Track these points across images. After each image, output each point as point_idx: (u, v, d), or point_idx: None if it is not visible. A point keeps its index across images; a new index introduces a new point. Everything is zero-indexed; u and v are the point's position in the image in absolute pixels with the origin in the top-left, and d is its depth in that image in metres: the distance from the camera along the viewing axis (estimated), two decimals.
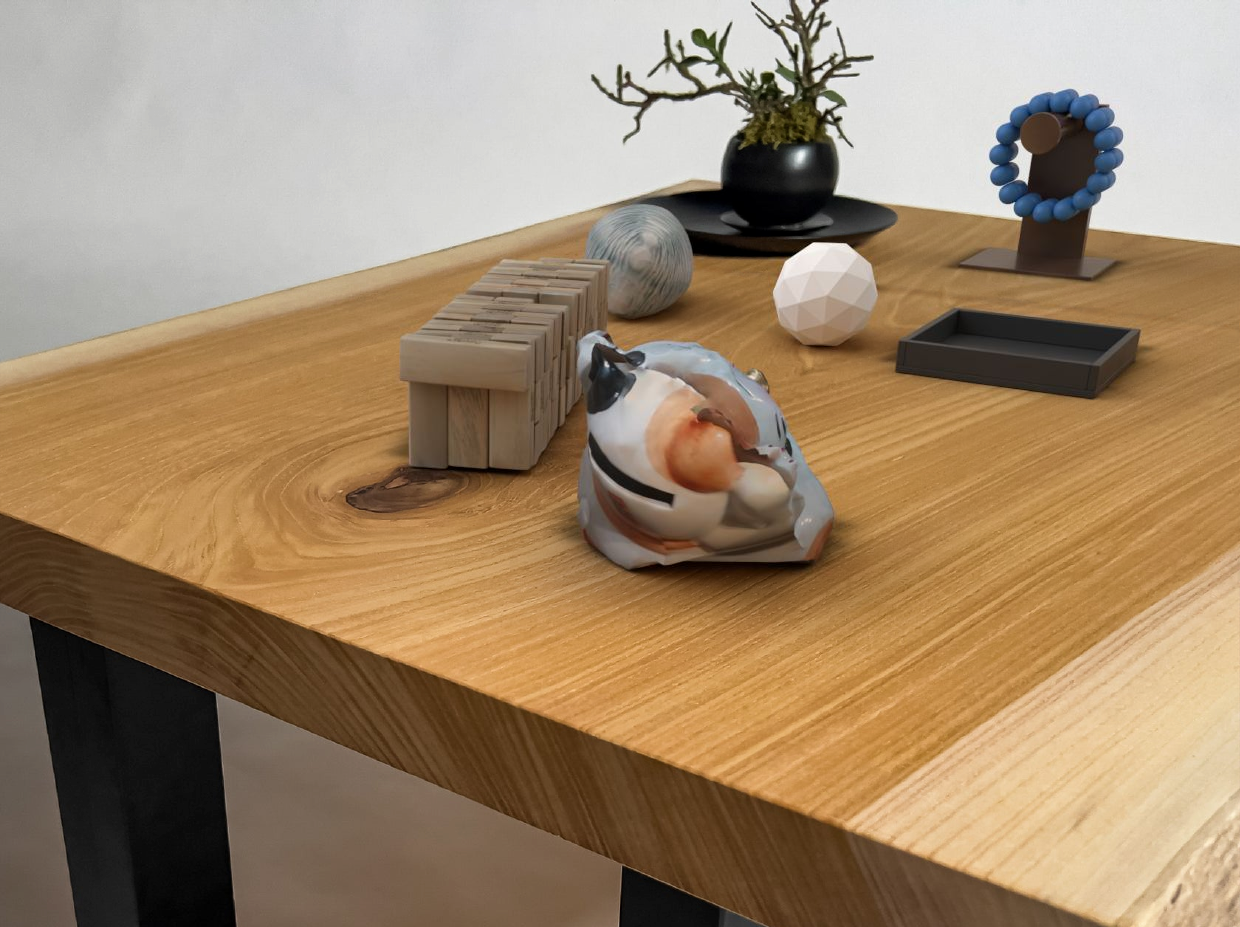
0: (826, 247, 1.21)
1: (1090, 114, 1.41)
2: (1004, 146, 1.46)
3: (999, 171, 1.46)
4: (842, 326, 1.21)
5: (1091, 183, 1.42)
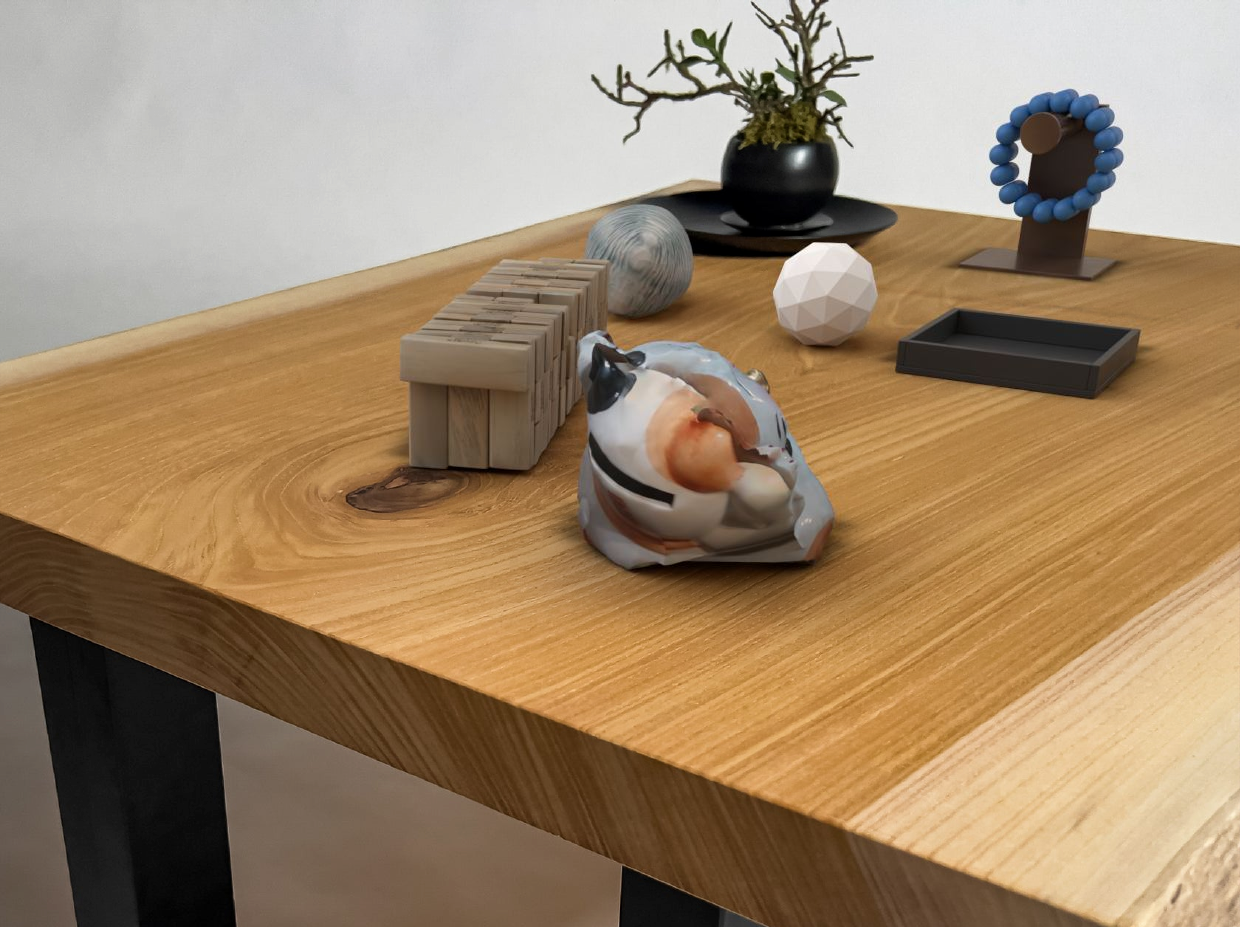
0: (826, 247, 1.21)
1: (1090, 114, 1.41)
2: (1004, 146, 1.46)
3: (999, 171, 1.46)
4: (842, 326, 1.21)
5: (1091, 183, 1.42)
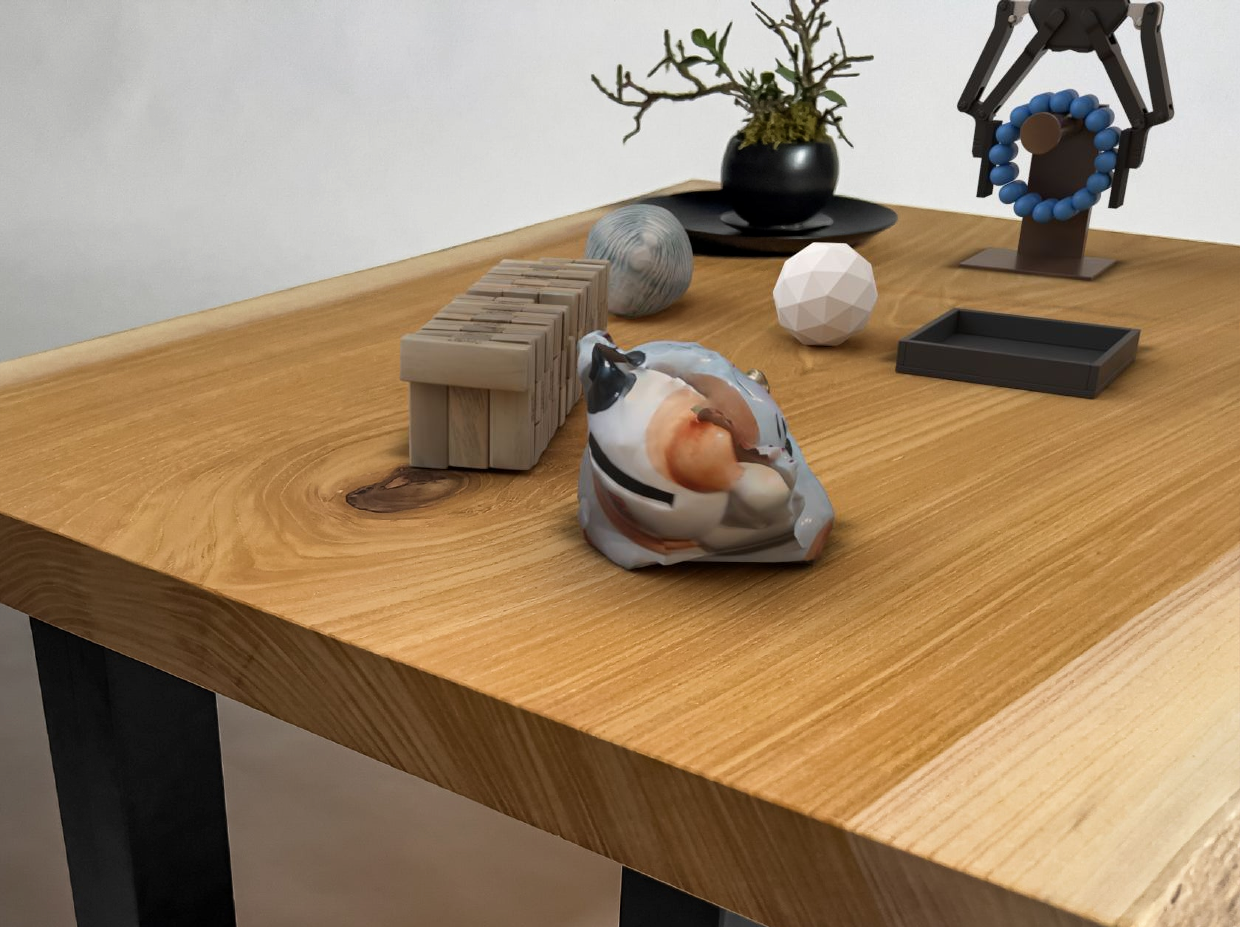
0: (826, 247, 1.21)
1: (1090, 114, 1.41)
2: (1004, 146, 1.46)
3: (999, 171, 1.46)
4: (842, 326, 1.21)
5: (1091, 183, 1.42)
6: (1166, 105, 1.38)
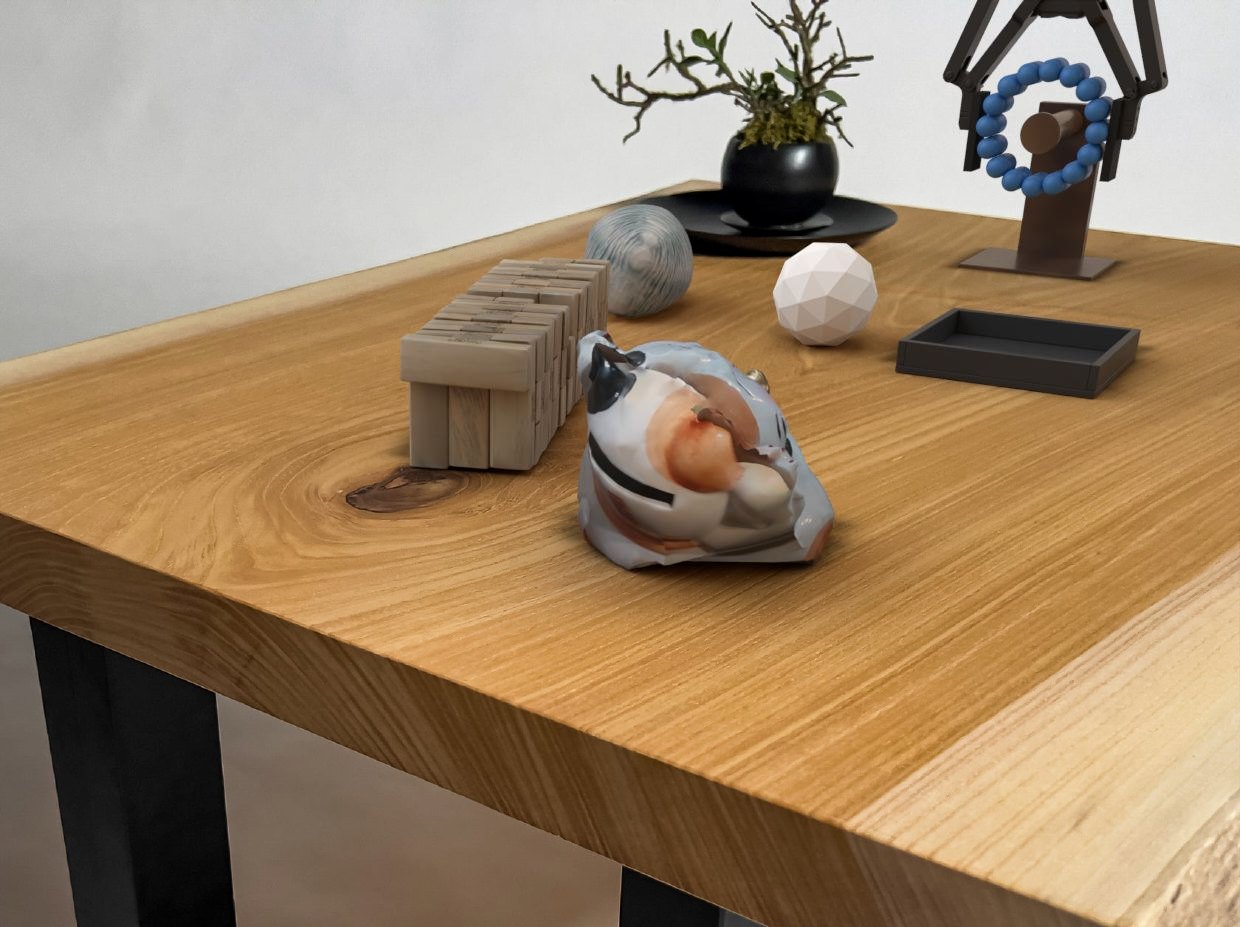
0: (826, 247, 1.21)
1: (1080, 83, 1.35)
2: (991, 117, 1.40)
3: (986, 143, 1.41)
4: (842, 326, 1.21)
5: (1082, 155, 1.37)
6: (1159, 73, 1.32)
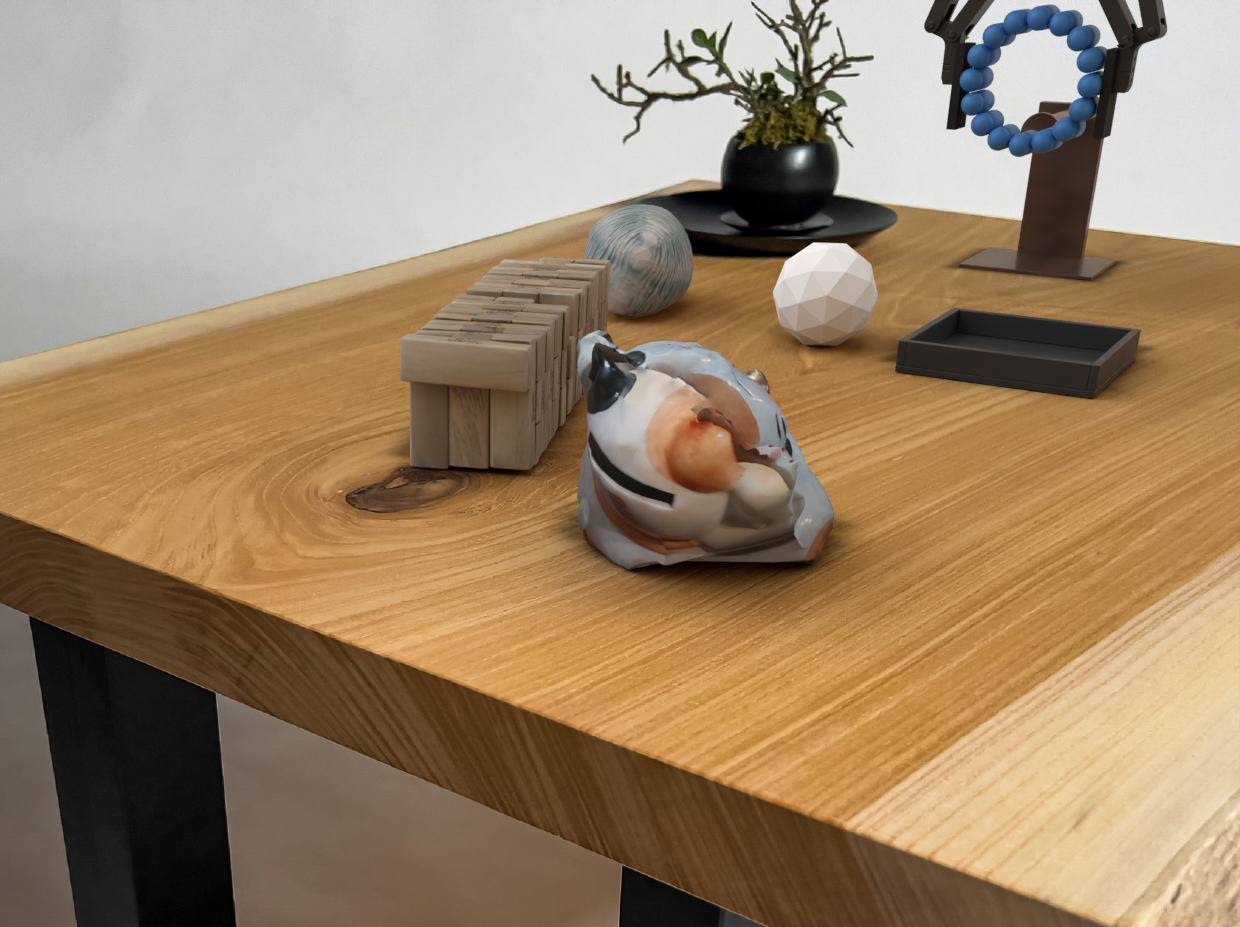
0: (826, 247, 1.21)
1: (1072, 31, 1.25)
2: (976, 70, 1.30)
3: (971, 98, 1.30)
4: (842, 326, 1.21)
5: (1073, 110, 1.26)
6: (1157, 18, 1.22)
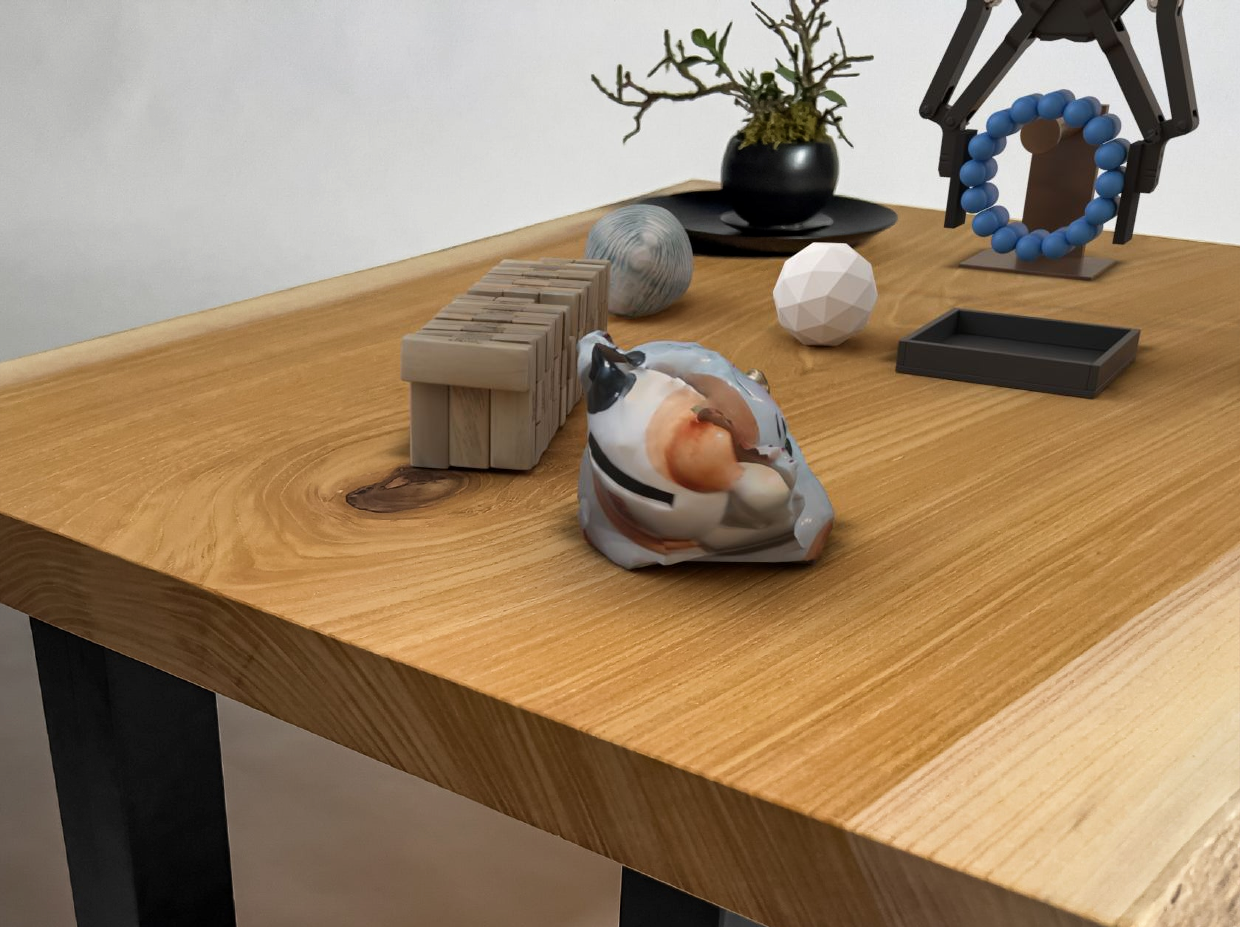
0: (826, 247, 1.21)
1: (1090, 122, 1.08)
2: (979, 163, 1.13)
3: (972, 195, 1.14)
4: (842, 326, 1.21)
5: (1091, 212, 1.10)
6: (1189, 111, 1.05)
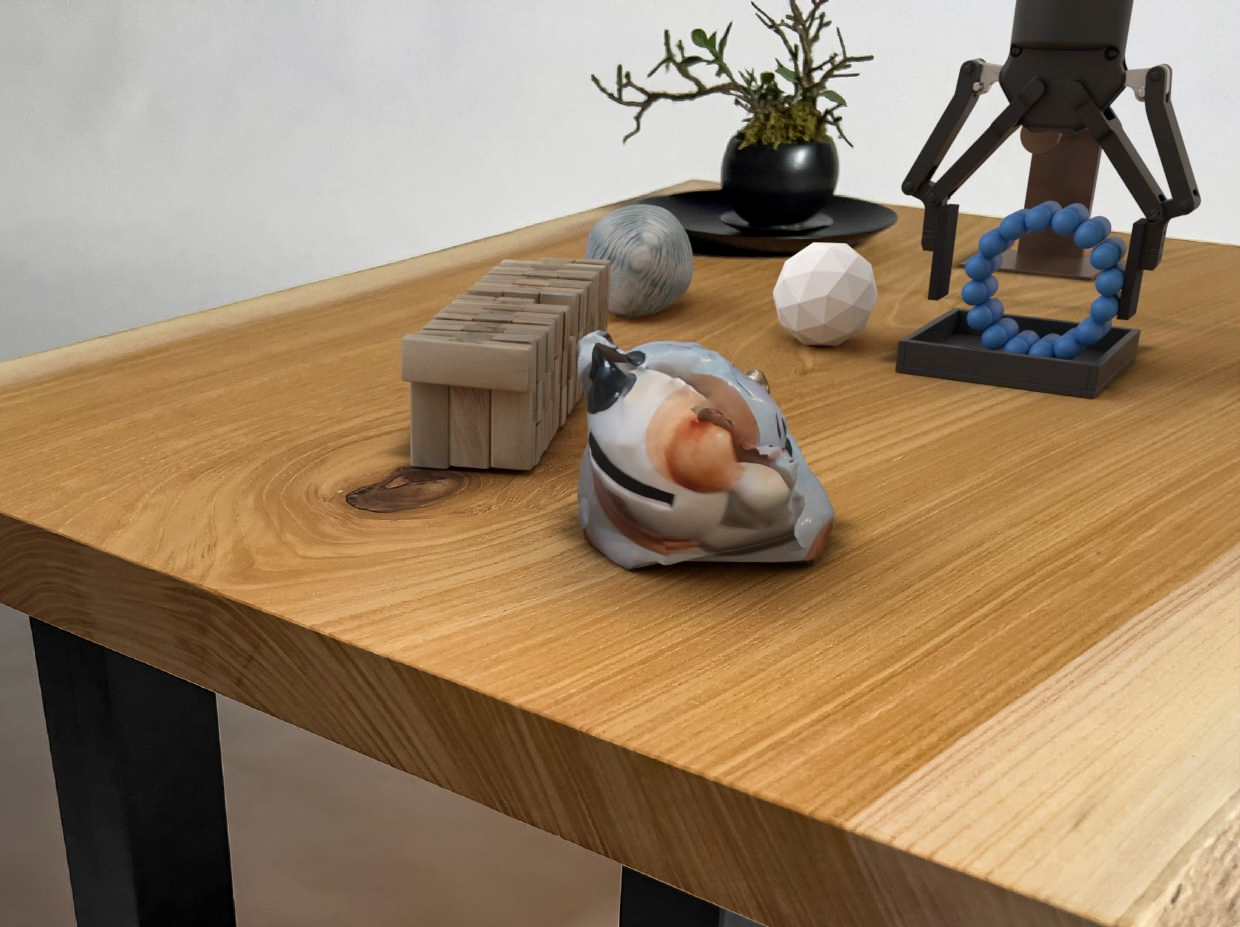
0: (826, 247, 1.21)
1: (1098, 247, 1.11)
2: (986, 259, 1.15)
3: (974, 288, 1.16)
4: (842, 326, 1.21)
5: (1081, 332, 1.13)
6: (1189, 191, 1.07)
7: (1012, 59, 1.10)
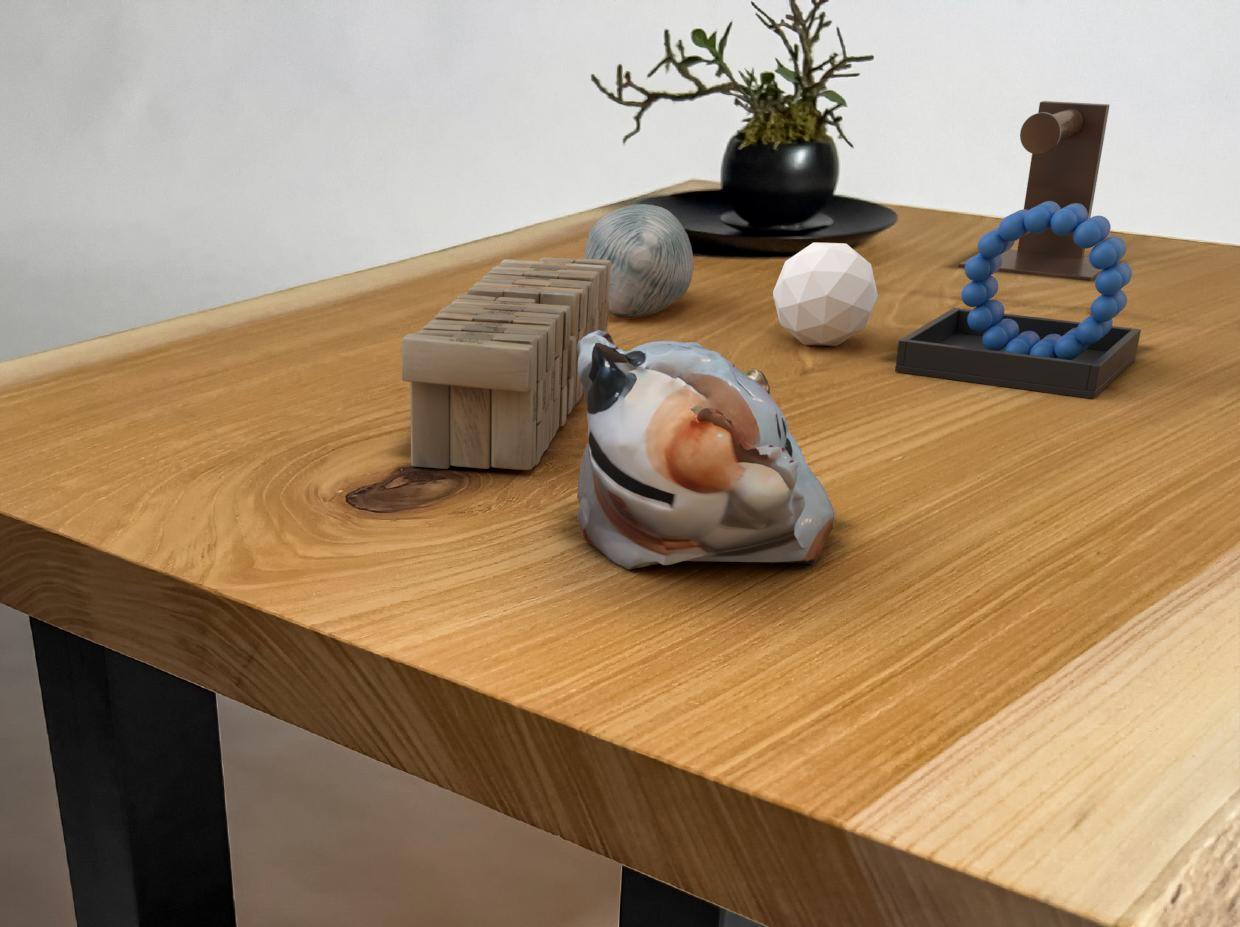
0: (826, 247, 1.21)
1: (1097, 247, 1.11)
2: (985, 260, 1.15)
3: (973, 290, 1.16)
4: (842, 326, 1.21)
5: (1082, 331, 1.13)
6: None
7: None
